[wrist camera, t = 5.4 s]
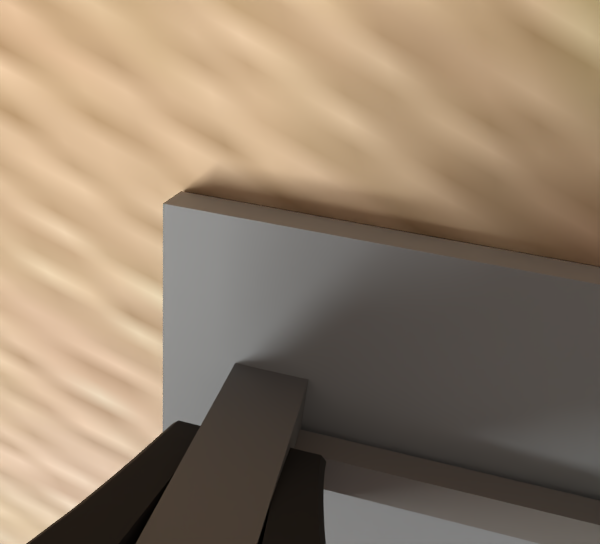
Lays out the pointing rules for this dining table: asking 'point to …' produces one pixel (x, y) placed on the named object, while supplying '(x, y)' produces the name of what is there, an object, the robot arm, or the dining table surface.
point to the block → (335, 477)
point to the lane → (389, 348)
